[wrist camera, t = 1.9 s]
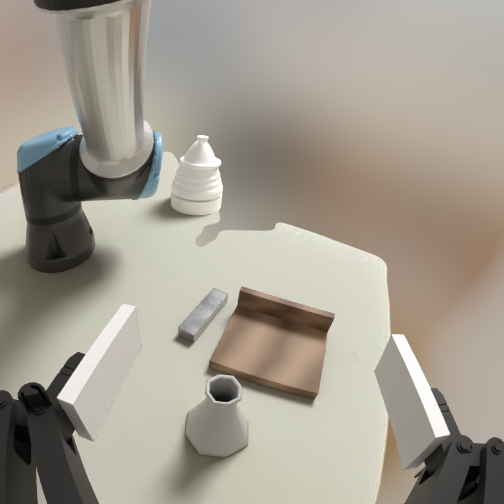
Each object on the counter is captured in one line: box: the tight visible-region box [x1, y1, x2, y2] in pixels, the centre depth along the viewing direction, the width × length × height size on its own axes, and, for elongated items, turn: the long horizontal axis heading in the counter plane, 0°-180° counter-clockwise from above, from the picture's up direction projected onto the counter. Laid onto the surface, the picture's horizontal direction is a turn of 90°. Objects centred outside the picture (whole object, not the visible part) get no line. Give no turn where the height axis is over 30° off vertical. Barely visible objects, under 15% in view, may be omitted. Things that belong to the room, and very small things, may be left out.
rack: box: [209, 287, 335, 399], centre depth 38 cm, size 14×12×4 cm
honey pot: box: [171, 135, 223, 215], centre depth 69 cm, size 13×13×18 cm
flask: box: [185, 374, 248, 457], centre depth 25 cm, size 7×7×10 cm
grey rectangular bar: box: [178, 288, 228, 343], centre depth 42 cm, size 2×10×2 cm, turn 156°
